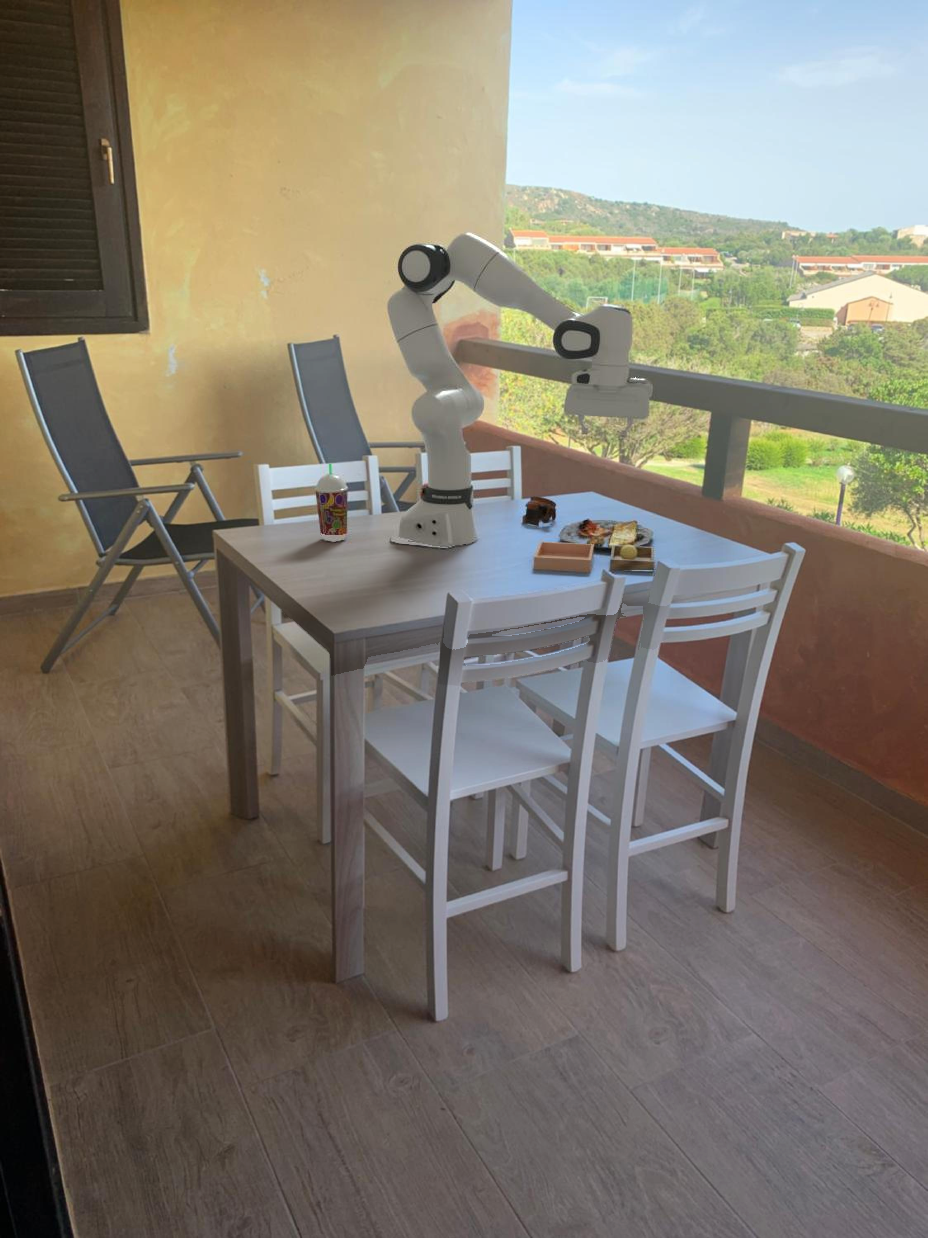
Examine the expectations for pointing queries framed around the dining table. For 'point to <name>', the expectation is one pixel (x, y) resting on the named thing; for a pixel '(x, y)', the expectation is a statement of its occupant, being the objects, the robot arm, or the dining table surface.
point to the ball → (628, 552)
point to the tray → (641, 561)
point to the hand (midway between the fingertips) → (604, 435)
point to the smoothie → (332, 504)
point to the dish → (564, 556)
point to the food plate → (606, 533)
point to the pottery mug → (539, 511)
